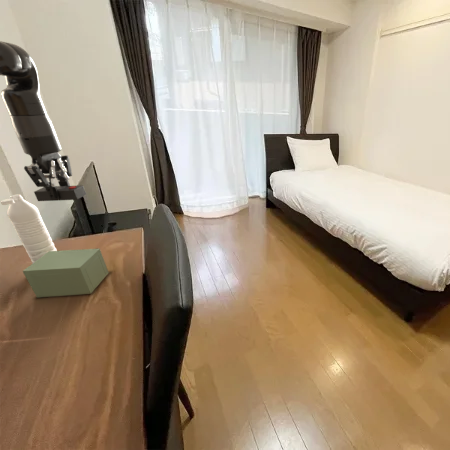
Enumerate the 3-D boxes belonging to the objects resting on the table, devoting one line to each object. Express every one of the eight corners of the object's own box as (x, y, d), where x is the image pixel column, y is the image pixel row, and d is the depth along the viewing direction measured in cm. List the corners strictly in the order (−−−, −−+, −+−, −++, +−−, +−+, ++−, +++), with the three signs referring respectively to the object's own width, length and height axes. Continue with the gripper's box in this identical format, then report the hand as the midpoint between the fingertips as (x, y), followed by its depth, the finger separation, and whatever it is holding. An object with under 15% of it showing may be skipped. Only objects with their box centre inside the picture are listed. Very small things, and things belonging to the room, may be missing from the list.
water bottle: (42, 264, 90) (6, 192, 79) (65, 260, 92) (34, 190, 81) (29, 279, 82) (-12, 203, 71) (56, 275, 85) (19, 200, 74)
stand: (36, 297, 75) (22, 271, 71) (60, 275, 84) (49, 251, 80) (90, 293, 77) (79, 267, 73) (108, 272, 86) (99, 248, 82)
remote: (37, 201, 75) (33, 190, 74) (49, 195, 79) (44, 185, 78) (77, 199, 76) (73, 189, 75) (86, 194, 80) (82, 184, 79)
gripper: (40, 130, 76) (63, 188, 83) (-4, 138, 63) (28, 206, 70) (69, 130, 77) (90, 187, 84) (32, 137, 64) (60, 205, 71)
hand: (61, 196), depth 77 cm, fingers closed on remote, 4 cm apart
